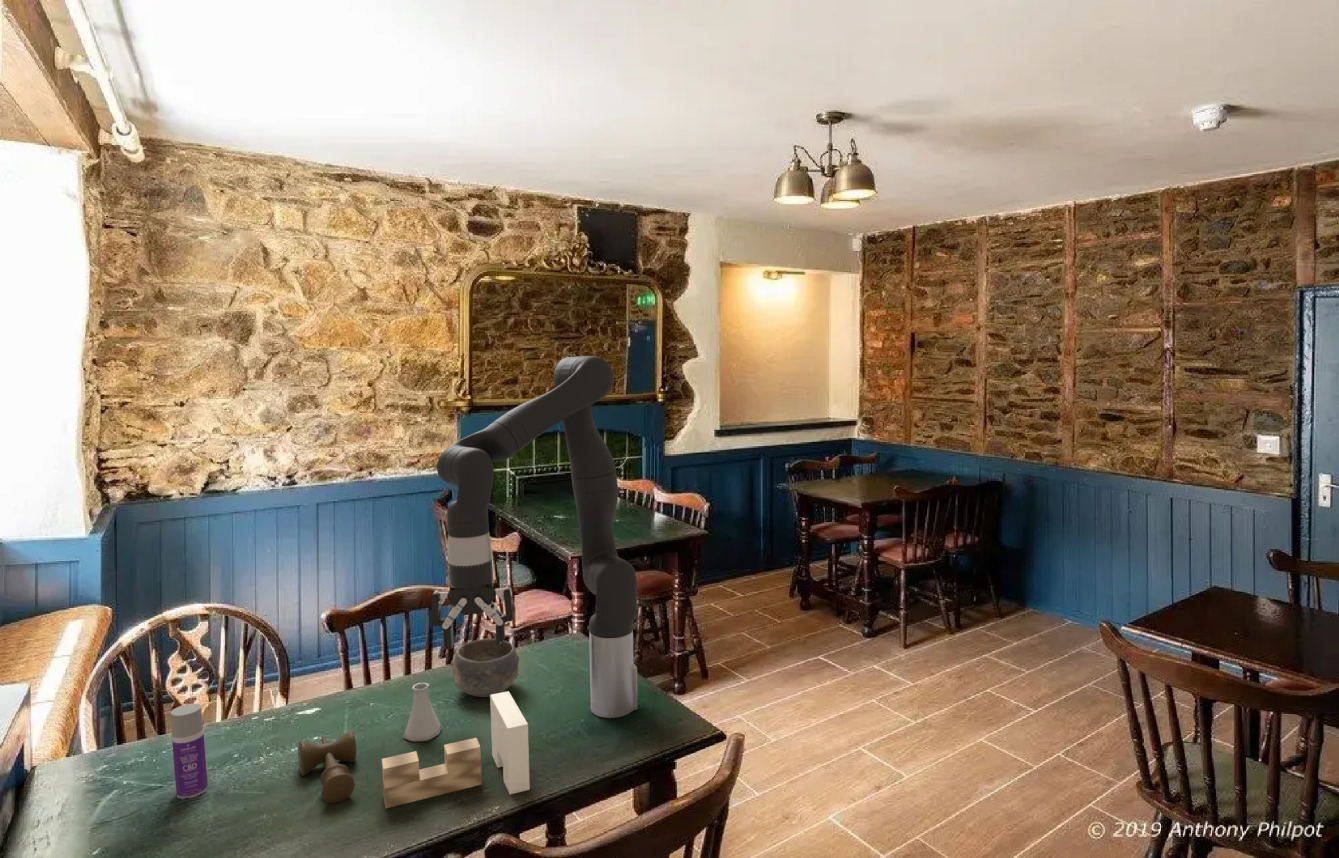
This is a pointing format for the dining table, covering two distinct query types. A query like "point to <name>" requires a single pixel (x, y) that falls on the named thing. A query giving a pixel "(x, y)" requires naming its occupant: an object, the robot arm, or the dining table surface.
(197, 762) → the container
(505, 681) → the bowl
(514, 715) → the white rectangular block
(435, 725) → the flask
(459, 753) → the oak base
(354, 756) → the kendama
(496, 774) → the dining table surface
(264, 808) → the dining table surface
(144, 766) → the dining table surface
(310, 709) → the dining table surface
